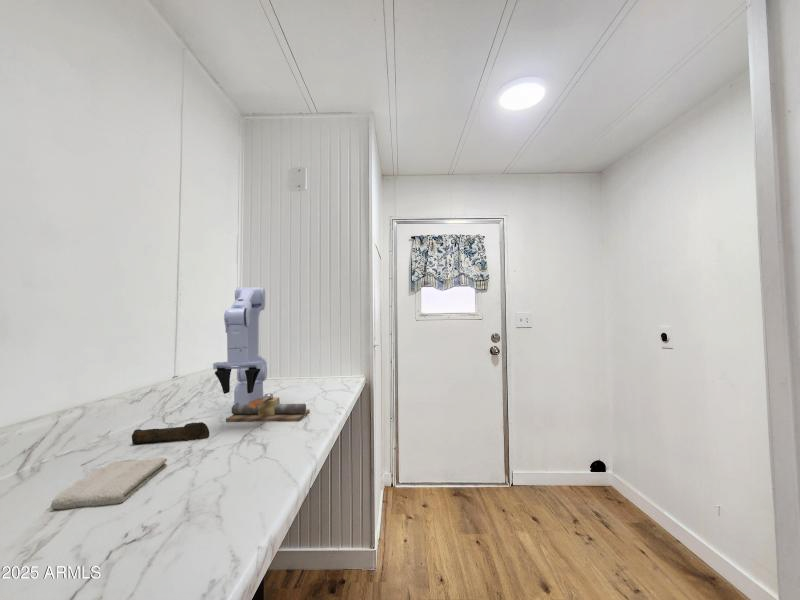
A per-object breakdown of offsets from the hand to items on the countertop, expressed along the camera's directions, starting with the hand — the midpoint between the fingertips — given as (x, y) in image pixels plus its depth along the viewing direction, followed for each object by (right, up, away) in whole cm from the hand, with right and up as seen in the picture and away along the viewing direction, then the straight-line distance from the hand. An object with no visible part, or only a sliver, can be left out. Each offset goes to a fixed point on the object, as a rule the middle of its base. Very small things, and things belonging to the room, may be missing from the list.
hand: (238, 392), depth 110 cm
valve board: (+6, -11, +10) cm, 16 cm away
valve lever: (+5, -4, +5) cm, 9 cm away
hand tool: (-14, -11, -9) cm, 20 cm away
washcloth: (-9, -10, -36) cm, 38 cm away
